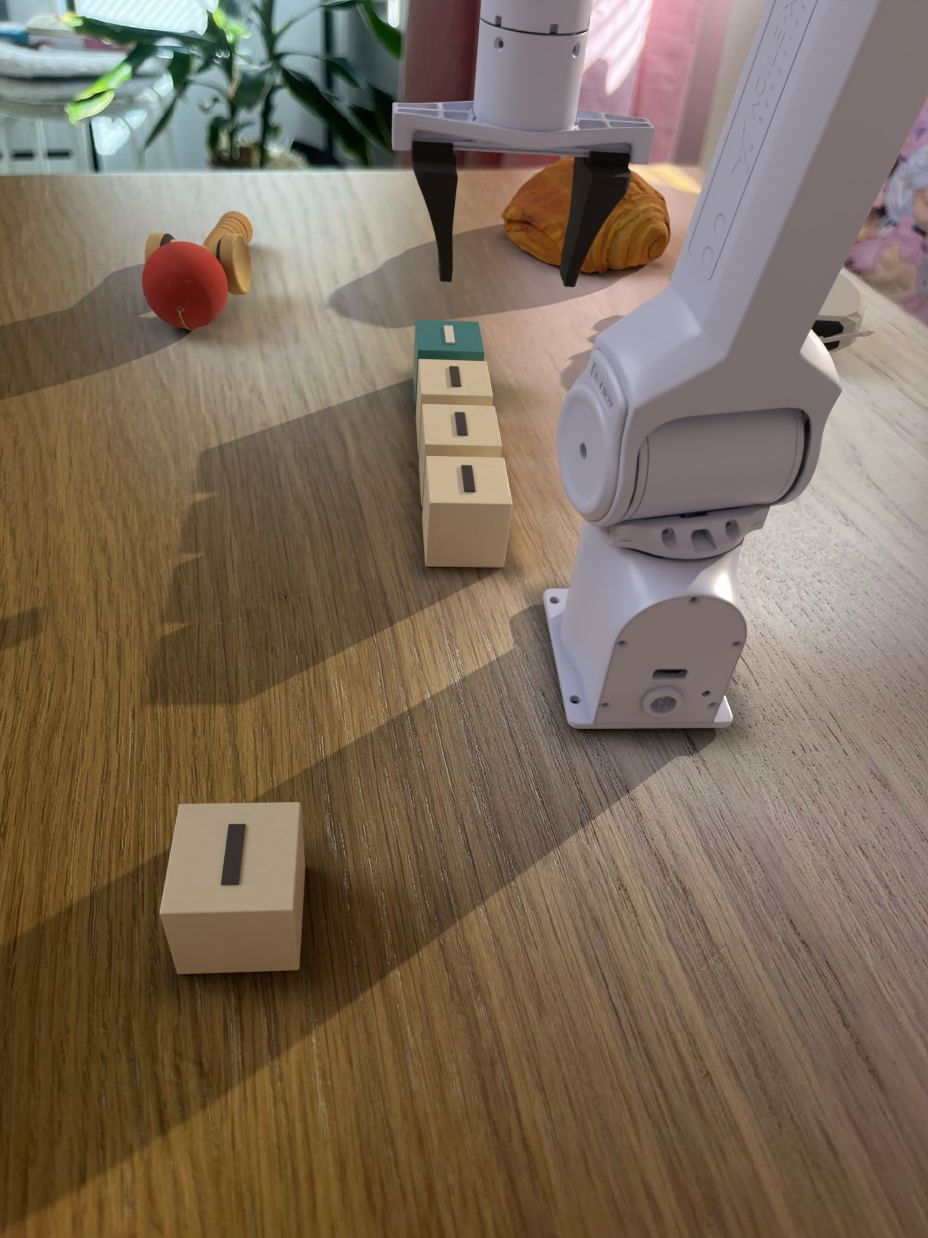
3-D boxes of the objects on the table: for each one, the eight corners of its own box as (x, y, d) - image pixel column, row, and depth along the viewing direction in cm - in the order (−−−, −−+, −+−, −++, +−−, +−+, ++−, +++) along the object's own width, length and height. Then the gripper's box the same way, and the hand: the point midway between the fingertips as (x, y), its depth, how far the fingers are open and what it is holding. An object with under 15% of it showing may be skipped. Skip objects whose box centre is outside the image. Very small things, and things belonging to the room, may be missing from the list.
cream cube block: (486, 456, 60) (493, 394, 57) (418, 455, 59) (421, 392, 56) (480, 420, 63) (486, 359, 60) (415, 418, 62) (418, 357, 59)
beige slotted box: (299, 971, 34) (293, 908, 31) (176, 975, 34) (158, 912, 31) (305, 865, 37) (300, 799, 34) (193, 868, 37) (178, 801, 34)
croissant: (581, 227, 95) (588, 140, 91) (694, 262, 85) (709, 167, 81) (467, 246, 88) (469, 154, 84) (575, 287, 78) (584, 185, 74)
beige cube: (503, 568, 52) (513, 502, 49) (425, 567, 51) (429, 501, 48) (496, 519, 55) (504, 455, 52) (422, 518, 54) (425, 453, 51)
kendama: (184, 257, 81) (113, 322, 66) (191, 181, 77) (118, 232, 63) (272, 282, 82) (221, 352, 67) (283, 207, 78) (232, 264, 64)
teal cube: (478, 411, 64) (485, 350, 61) (414, 409, 63) (417, 348, 60) (473, 378, 67) (479, 319, 64) (412, 376, 66) (415, 317, 63)
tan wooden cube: (494, 508, 56) (502, 444, 53) (421, 507, 55) (425, 442, 52) (487, 466, 59) (495, 404, 56) (418, 465, 58) (421, 401, 55)
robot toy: (667, 368, 72) (866, 379, 71) (676, 312, 69) (884, 323, 68) (660, 300, 81) (837, 309, 80) (668, 248, 78) (852, 257, 77)
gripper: (652, 15, 52) (608, 256, 61) (393, -4, 50) (388, 246, 60) (683, 45, 47) (630, 303, 56) (396, 25, 45) (390, 294, 55)
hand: (506, 277), depth 58 cm, fingers open, 7 cm apart
